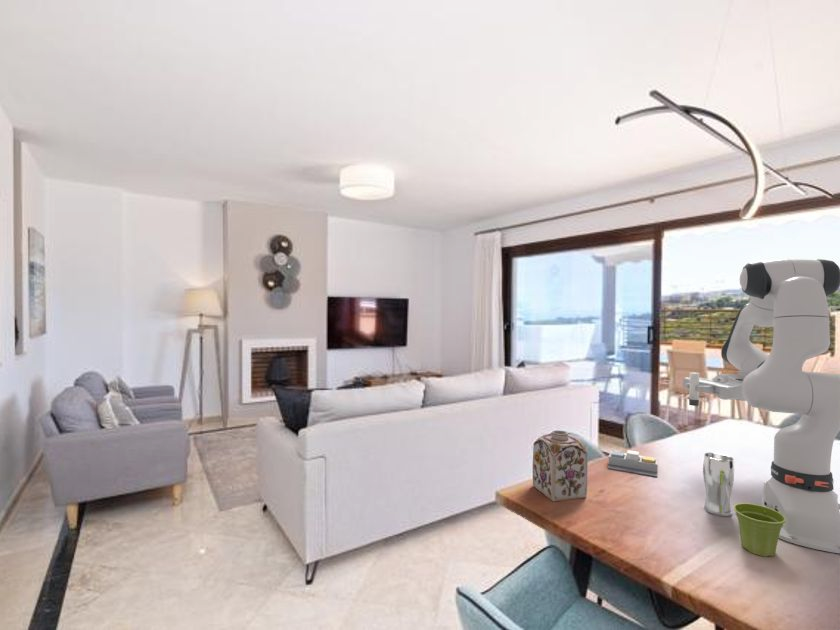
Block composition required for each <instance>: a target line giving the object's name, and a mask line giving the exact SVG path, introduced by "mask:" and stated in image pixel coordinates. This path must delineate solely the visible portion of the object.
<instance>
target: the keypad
mask: <svg viewBox="0 0 840 630" xmlns="http://www.w3.org/2000/svg"><path fill="white" fill-rule="evenodd" d="M612 452H613V451H611V452H610V451H609V455H608V464H607V469H608V470H613V471H618V472H625V473H629V474H635V475H640V476H641V475H643V476H646V477H653V478H658V468H659V467H658V465H659V464H658V463H659V462H658V460H659V459H656V458H655V464H654V463H648V462H642V460H643V456H644V455H641V454H639V461H636V460H630V459H627V452H623V453H624V459H623V458H617V457H612Z"/></svg>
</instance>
